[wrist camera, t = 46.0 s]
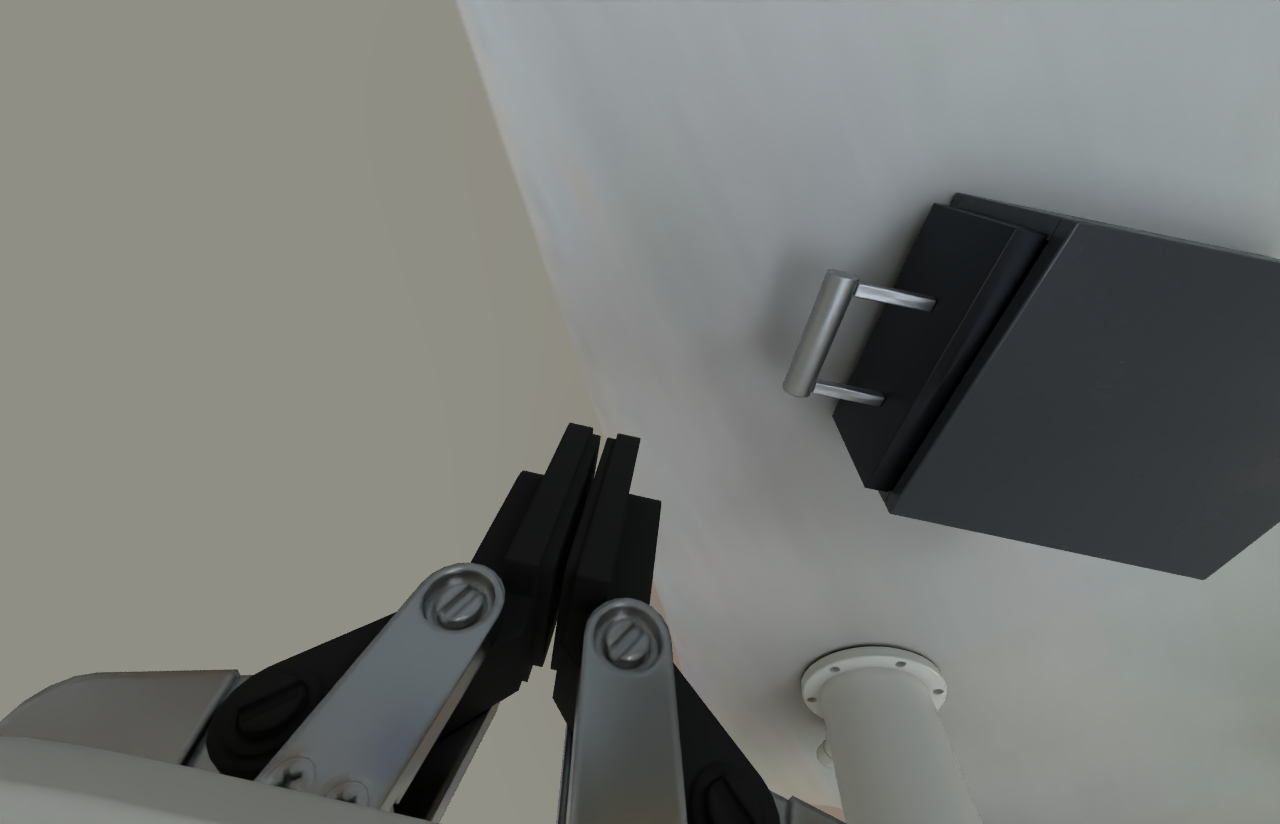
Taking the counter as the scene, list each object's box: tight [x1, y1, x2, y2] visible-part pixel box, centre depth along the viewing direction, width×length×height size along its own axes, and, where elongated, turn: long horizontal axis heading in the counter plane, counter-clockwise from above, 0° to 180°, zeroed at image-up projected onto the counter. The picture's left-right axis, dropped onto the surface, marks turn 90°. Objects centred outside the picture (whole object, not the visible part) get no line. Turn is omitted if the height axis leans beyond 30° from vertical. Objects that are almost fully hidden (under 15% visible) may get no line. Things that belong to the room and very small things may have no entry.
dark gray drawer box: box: [878, 193, 1280, 580], centre depth 22 cm, size 16×14×9 cm
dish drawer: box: [782, 203, 1048, 492], centre depth 22 cm, size 19×12×7 cm, turn 80°
